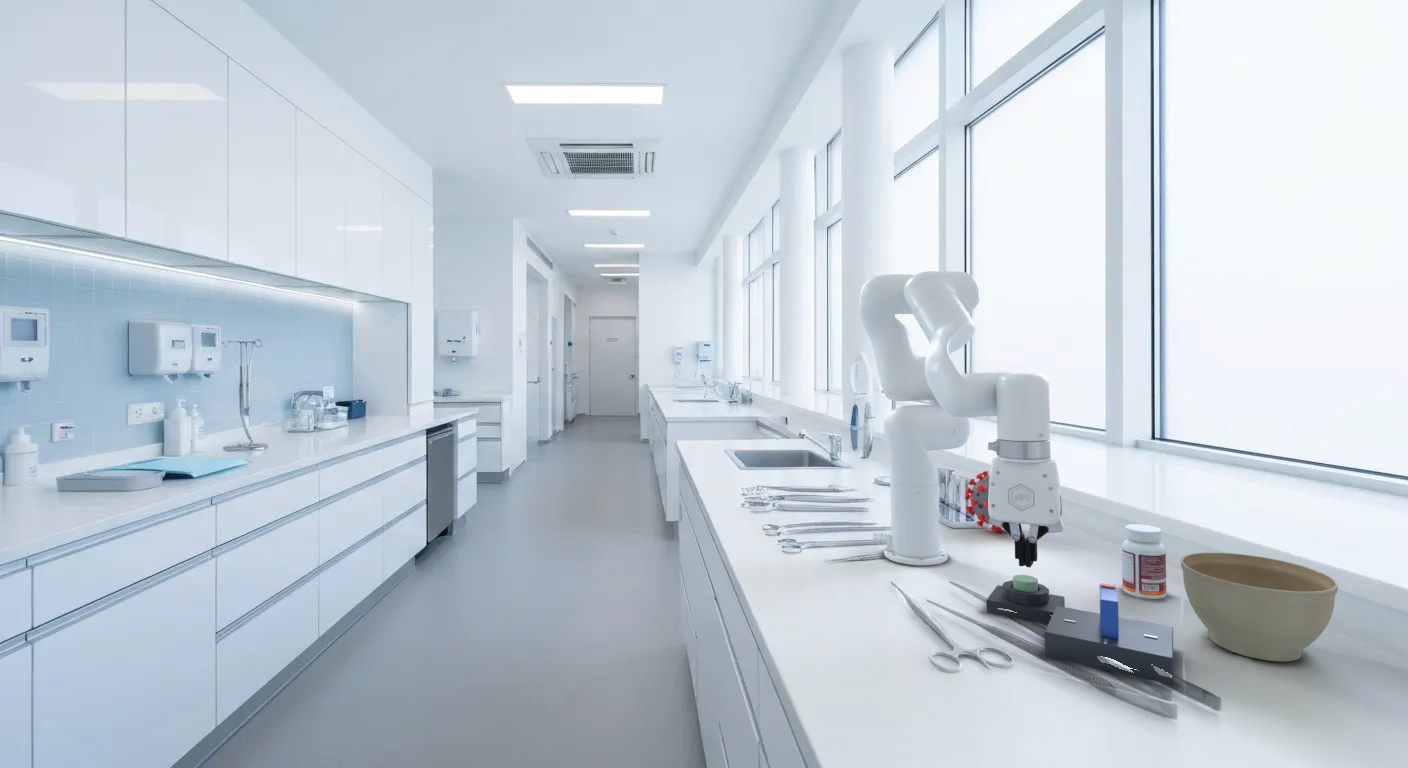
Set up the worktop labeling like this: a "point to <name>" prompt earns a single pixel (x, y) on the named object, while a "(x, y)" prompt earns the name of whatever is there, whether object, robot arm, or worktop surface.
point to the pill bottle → (1144, 562)
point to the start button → (1025, 583)
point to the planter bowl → (1258, 603)
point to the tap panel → (1110, 644)
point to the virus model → (980, 500)
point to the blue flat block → (1109, 611)
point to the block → (1024, 603)
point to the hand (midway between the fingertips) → (1026, 564)
